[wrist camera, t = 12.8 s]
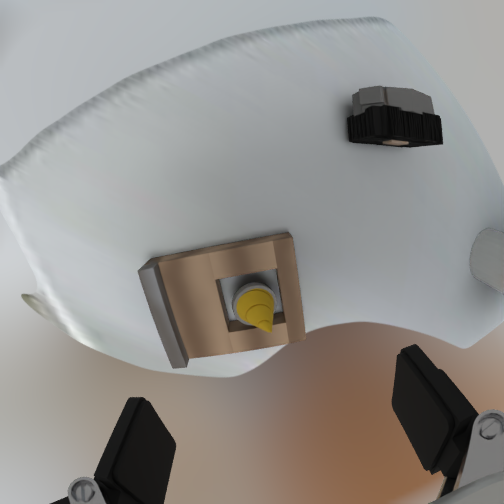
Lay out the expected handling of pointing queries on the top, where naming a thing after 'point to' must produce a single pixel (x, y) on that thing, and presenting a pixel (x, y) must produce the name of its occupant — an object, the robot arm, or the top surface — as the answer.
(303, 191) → the top surface
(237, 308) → the drill bit
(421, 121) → the cpu cooler
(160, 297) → the jig
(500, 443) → the robot arm
